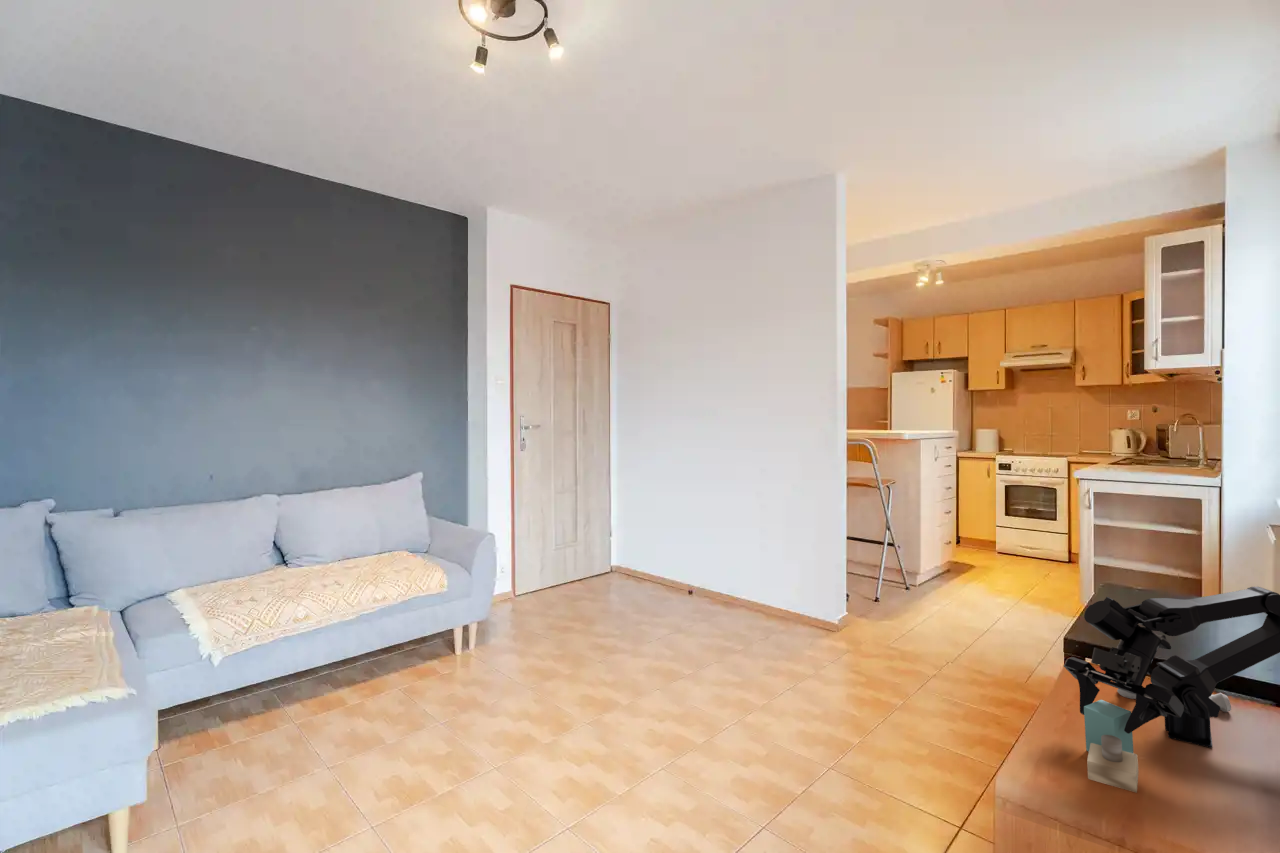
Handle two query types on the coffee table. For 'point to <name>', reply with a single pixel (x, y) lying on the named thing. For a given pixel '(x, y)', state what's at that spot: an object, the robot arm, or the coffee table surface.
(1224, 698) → the smooth white sculpture
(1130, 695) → the rook chess piece
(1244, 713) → the coffee table surface
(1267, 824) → the coffee table surface
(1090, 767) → the post pedestal
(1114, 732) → the teal square top
